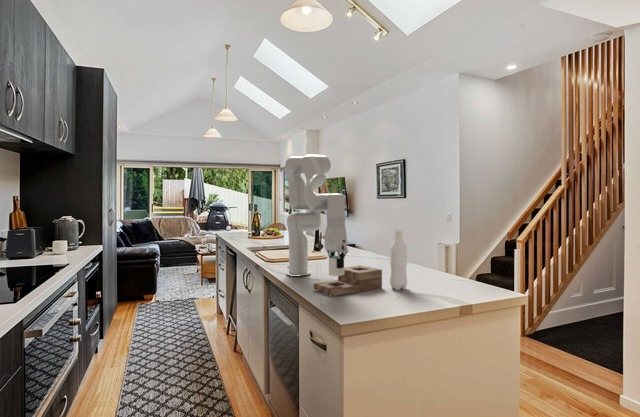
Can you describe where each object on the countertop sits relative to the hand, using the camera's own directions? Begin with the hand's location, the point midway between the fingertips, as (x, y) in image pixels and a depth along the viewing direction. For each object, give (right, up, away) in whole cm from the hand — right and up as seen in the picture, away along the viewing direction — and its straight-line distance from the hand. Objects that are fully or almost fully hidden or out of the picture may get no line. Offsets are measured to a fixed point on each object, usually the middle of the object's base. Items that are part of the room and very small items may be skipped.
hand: (336, 266), depth 160 cm
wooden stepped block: (+5, -10, +4) cm, 12 cm away
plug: (0, -3, 0) cm, 3 cm away
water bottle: (+27, -10, +5) cm, 29 cm away
